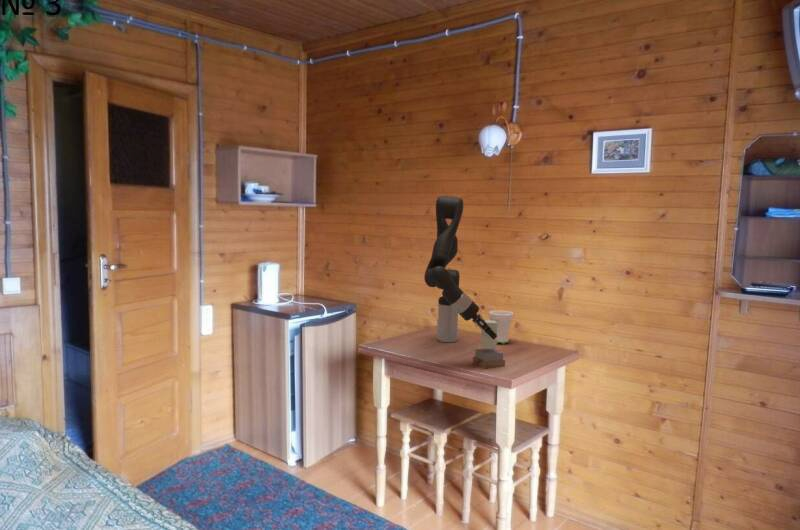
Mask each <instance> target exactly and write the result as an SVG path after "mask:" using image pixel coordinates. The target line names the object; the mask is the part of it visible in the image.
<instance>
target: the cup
mask: <svg viewBox="0 0 800 530" xmlns="http://www.w3.org/2000/svg"><path fill="white" fill-rule="evenodd" d="M488 318H489V320H494V321H495V322H497V341H496V345H498V344H499V343H500V344H501V345H505V344H509V341H510V337H509V333H510V332H509V331H510V327H511V324H512V321H513V319H514V312H513V311H510V310H500V309H499V310H498V309H496V310H495V309H494V310H490V311H488Z"/></svg>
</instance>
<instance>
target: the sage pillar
mask: <svg viewBox="0 0 800 530" xmlns="http://www.w3.org/2000/svg"><path fill="white" fill-rule="evenodd" d="M484 320H485V319H484ZM485 321H486V322H487V325H488V326H489V327H490V328H491V330H492V331H493V332H494V333H495V334H496V335H497V322H495V321H494V320H490V319H488V320H485ZM487 328H488V327H486V328H485V330H486V329H487ZM480 331H481V333H480V334H481V336H480V345H481V347H482V349H487V348H494V349H497V344H496V341H497V337H496V338H495V339H492V338H491V337H490V336H489V335H488V334H487V333H486V332H485V331H484V330H483V329H480Z"/></svg>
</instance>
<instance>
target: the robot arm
mask: <svg viewBox="0 0 800 530" xmlns="http://www.w3.org/2000/svg"><path fill="white" fill-rule="evenodd" d="M463 212H464V200H463V199H462V198H461V197H456V196H450V195H449V196H447V195H440V196H438V197H437V199H436V201H435V219H436V240H435V241H434V244H433V246H432V247H433V248H432V252H431V258H430V260H429V262H428V264H427V266H426V268H425V272H424V275H423V276H424V283H425V284H426V286H428V287H430V288H435V287H436V288H437V289H439V290H442V292H441V294H442V296H440V297H438V299H437V301H438V304H437V305H438V307H437V308H438V309H437V319H436V339H437V341H439V342H443V343H454V342H457V341H458V332H459V331H458V328H459V322H458V321H459V316H460V317H461V318H462V319H463V320H464V321H467V322H468V321H470V320H471V322H473V324H474V325H476V326H477V327H478V328H479V329H480V330H481V329H483V330H484V331H485V332H486V333H487V334H488V335H489V336H490V337H491V338H492V339H495V338H496V337H497V335H496V334H495V333H494V332H493V331H492V330H491V328H490V327H489V326H488V325H487V322H486V321H485V319H484V318H483V316H482V315H481V314H480V313H478V312H479V311H480V307H479V305H477V304H476V302H475V301H474V300H473V299H472V298H471V297H470V296H469V295H468V294H466V293H465V292H464V291H463V290H462V288H461V287H460V280H461V279H460V276H461V275H460V272H459V270H457V269H447V268H446V267H447V266H448V264H450V262H452V260H453V259H454V258H455V257H456V256H457V254H458V247H459V246H458V244H459V242H458V237H457V235H456V234H457V231H458V228H459V225H460V223H461V219H462V216H463ZM447 220H451V222H450V224H449V223H448V222H447ZM486 327H488V328H487V329H486V330H485V328H486Z"/></svg>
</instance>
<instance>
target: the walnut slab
mask: <svg viewBox="0 0 800 530" xmlns="http://www.w3.org/2000/svg"><path fill="white" fill-rule="evenodd" d="M472 364H474V365H475V366H479V367H481V368H484V369H486V370H487V369H488V370H489V369H496V368H502V367H505V366H506V359H504V358H503V360H500V361H490V362H484V361H482V360H480V359H479V358H477V357H475V356H473V357H472Z"/></svg>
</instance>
